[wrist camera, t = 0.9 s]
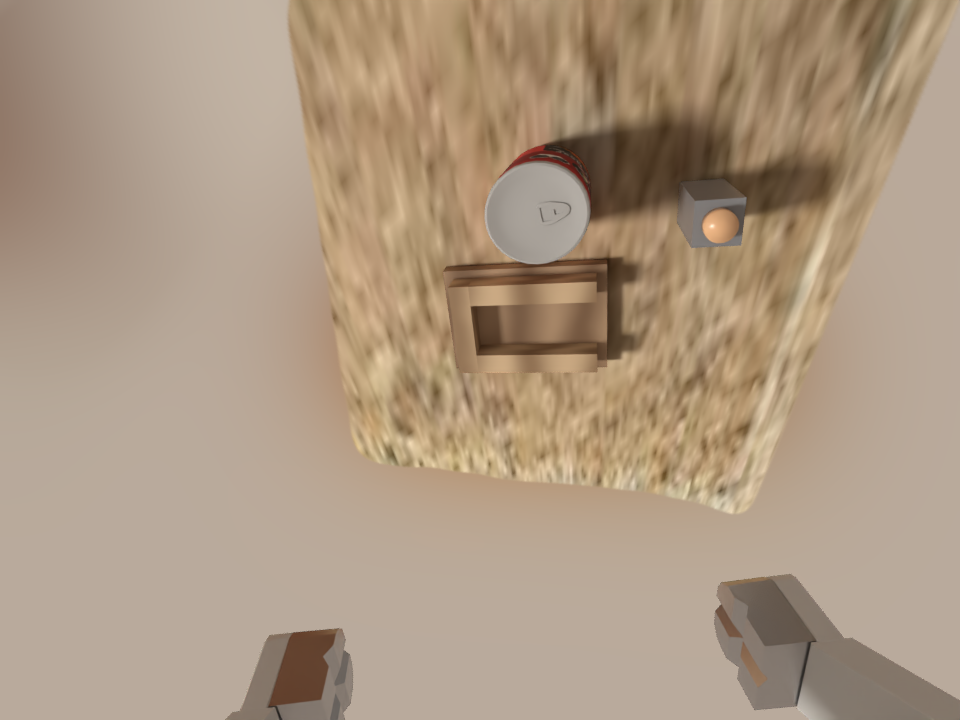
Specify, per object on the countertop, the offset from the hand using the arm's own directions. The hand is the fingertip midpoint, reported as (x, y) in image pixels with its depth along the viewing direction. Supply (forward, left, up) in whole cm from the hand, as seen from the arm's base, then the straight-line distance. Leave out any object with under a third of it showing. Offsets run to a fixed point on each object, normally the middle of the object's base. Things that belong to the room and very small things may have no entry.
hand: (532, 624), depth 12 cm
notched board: (+10, +8, -44) cm, 45 cm away
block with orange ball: (-9, +6, -44) cm, 45 cm away
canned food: (+2, -2, -44) cm, 44 cm away
